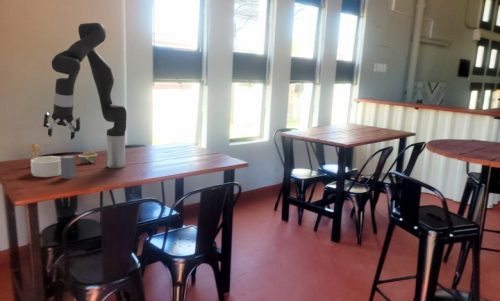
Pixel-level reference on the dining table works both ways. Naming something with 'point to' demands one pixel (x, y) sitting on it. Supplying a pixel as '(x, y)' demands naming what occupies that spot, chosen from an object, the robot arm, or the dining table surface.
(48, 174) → the white round bowl
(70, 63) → the robot arm
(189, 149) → the dining table surface
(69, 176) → the grey tall block
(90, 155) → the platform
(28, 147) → the figurine
